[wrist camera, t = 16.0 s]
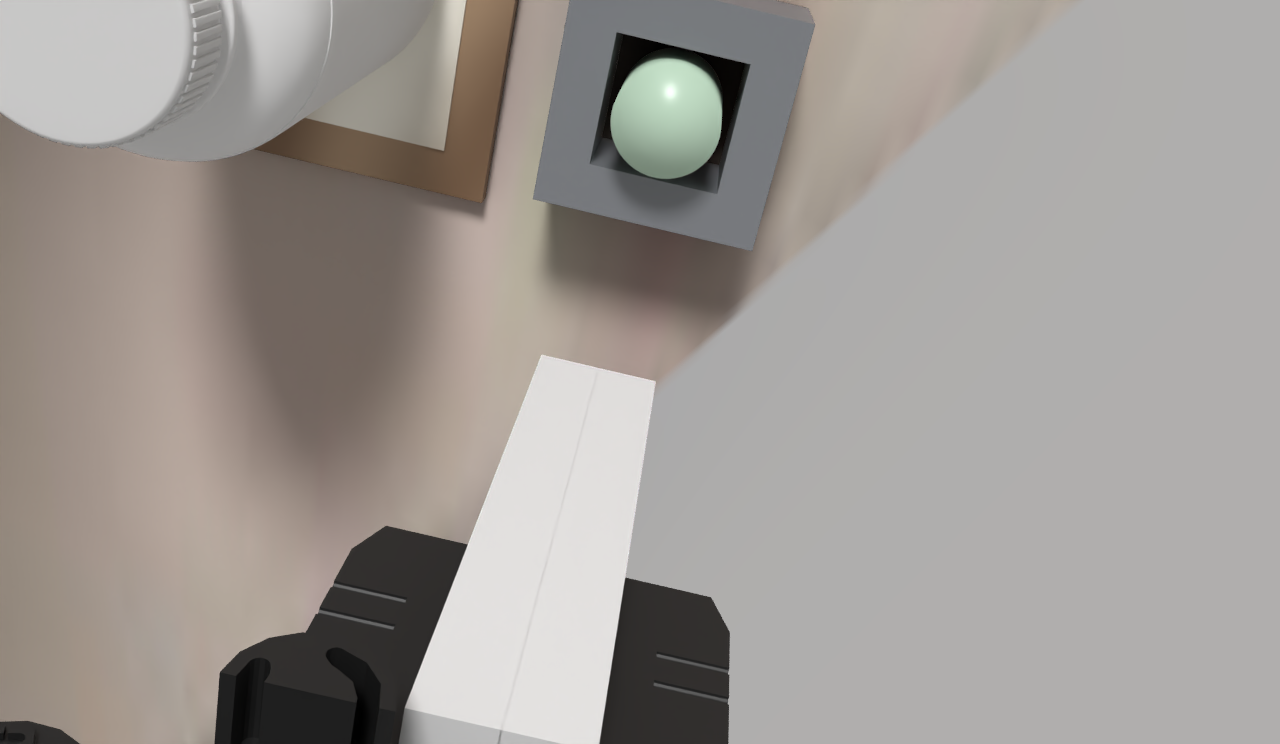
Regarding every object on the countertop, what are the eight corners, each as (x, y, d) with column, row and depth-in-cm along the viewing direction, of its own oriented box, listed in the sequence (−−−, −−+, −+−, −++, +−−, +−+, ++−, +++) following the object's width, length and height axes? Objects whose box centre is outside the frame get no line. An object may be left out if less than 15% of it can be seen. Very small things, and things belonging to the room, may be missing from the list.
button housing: (549, 169, 38) (532, 199, 35) (590, -45, 35) (576, -34, 32) (751, 217, 39) (752, 251, 35) (808, 8, 36) (815, 24, 32)
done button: (612, 136, 37) (600, 164, 33) (633, 37, 35) (622, 55, 32) (709, 160, 37) (706, 190, 33) (734, 61, 35) (733, 82, 32)
